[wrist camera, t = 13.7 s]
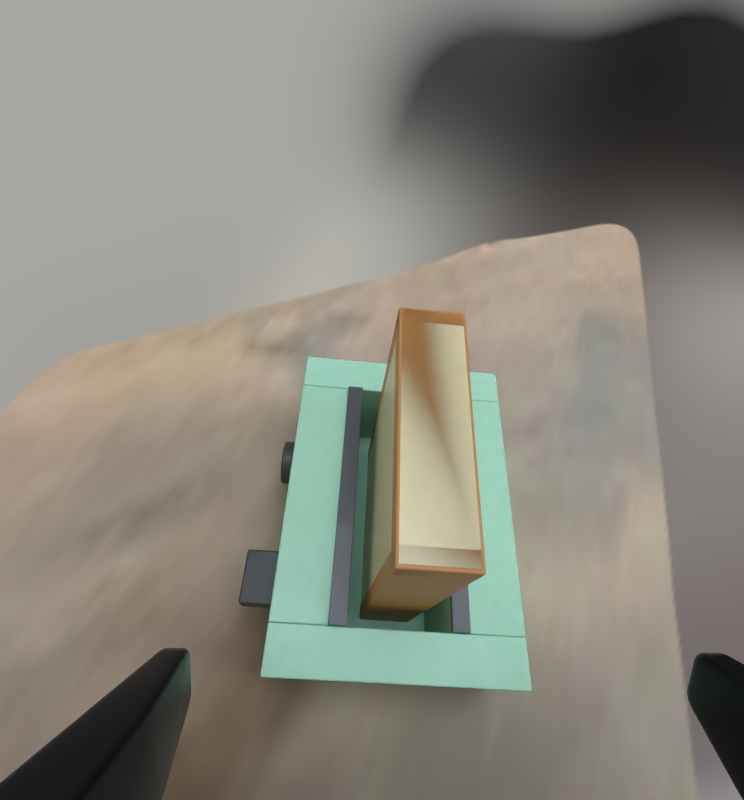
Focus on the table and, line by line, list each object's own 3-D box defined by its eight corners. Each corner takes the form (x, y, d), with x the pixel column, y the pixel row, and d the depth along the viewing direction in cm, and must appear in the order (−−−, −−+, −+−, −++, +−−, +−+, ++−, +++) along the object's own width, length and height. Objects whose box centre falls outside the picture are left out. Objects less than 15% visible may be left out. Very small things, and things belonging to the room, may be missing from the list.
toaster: (483, 688, 18) (535, 692, 14) (243, 675, 18) (217, 675, 13) (465, 425, 25) (497, 371, 20) (286, 410, 24) (279, 350, 20)
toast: (407, 622, 19) (487, 575, 10) (359, 619, 19) (394, 568, 10) (408, 454, 23) (465, 313, 14) (368, 451, 23) (399, 306, 14)
